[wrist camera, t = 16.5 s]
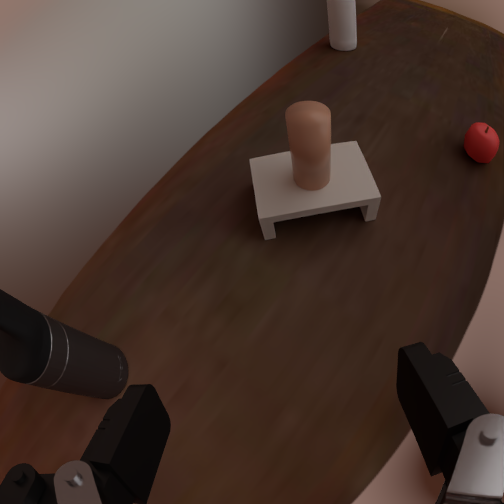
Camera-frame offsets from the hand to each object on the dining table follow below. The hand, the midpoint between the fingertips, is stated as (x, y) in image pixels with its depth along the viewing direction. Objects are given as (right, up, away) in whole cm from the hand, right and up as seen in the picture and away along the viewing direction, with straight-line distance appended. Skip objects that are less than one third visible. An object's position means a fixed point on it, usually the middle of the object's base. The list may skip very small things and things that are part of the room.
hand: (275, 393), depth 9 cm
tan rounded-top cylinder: (+8, +16, +37) cm, 41 cm away
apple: (+45, +24, +41) cm, 66 cm away
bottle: (+26, +64, +66) cm, 96 cm away
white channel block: (+9, +13, +42) cm, 45 cm away
